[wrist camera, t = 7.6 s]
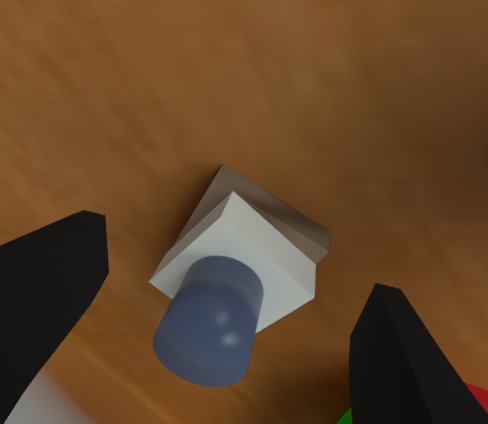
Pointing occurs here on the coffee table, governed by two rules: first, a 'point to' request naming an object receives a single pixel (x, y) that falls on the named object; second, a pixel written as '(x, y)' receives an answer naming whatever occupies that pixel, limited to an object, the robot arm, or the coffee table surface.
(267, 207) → the walnut base block
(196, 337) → the navy rounded cylinder
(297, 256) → the cream top block
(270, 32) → the coffee table surface
